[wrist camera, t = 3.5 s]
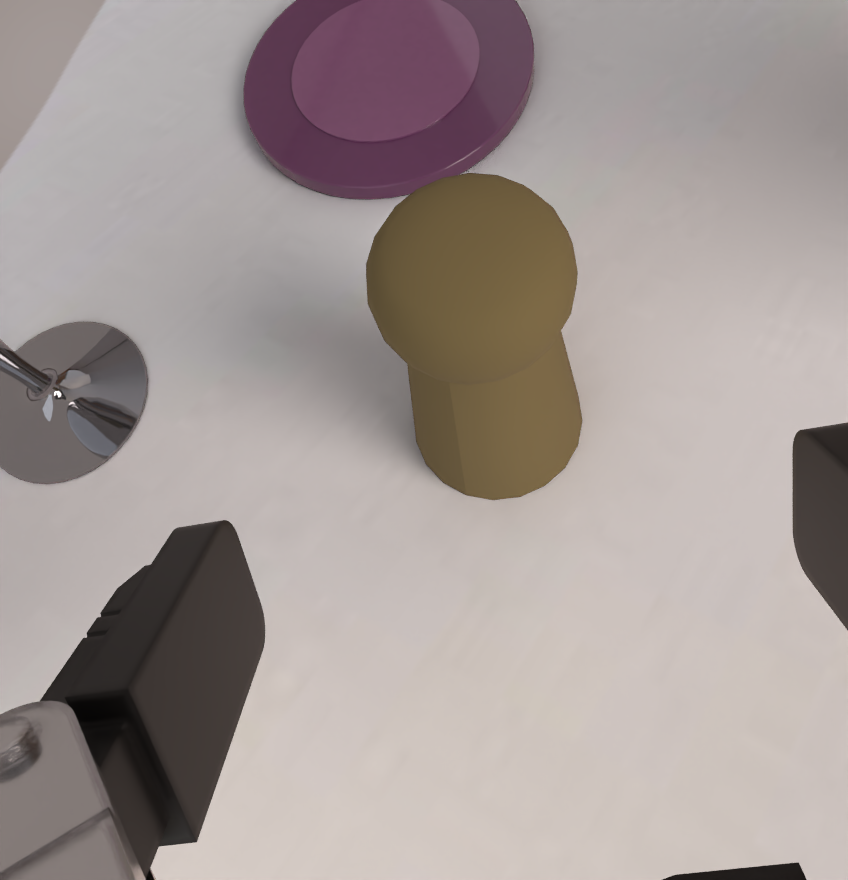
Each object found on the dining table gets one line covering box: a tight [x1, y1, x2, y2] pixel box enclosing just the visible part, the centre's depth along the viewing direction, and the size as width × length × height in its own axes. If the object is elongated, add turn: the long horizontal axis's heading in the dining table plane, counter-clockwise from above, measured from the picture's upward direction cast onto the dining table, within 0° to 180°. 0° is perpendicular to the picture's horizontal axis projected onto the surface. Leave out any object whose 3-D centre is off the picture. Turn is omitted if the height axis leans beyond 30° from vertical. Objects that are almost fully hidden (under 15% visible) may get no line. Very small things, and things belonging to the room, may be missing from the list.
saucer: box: [244, 0, 534, 199], centre depth 34 cm, size 13×13×1 cm
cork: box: [366, 173, 582, 500], centre depth 22 cm, size 6×6×11 cm
